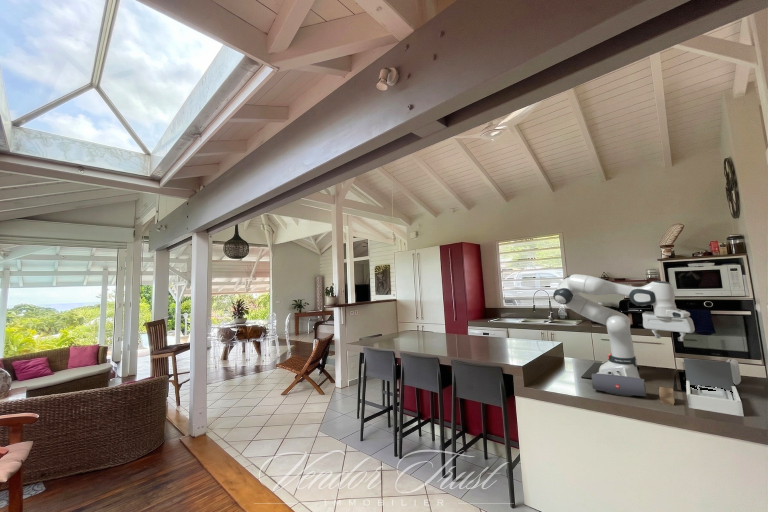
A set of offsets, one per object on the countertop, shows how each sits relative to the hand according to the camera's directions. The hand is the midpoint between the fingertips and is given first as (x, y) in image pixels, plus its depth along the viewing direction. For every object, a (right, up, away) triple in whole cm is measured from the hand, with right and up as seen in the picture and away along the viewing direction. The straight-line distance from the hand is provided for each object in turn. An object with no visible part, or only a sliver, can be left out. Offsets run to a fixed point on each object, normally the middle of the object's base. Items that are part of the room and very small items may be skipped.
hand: (669, 339), depth 159 cm
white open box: (+12, -28, -10) cm, 32 cm away
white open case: (+19, -27, -3) cm, 33 cm away
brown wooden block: (-5, -30, -5) cm, 31 cm away
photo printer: (+45, -26, +10) cm, 53 cm away
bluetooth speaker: (-19, -32, +8) cm, 38 cm away
